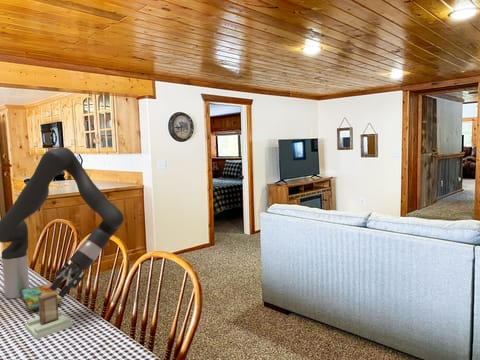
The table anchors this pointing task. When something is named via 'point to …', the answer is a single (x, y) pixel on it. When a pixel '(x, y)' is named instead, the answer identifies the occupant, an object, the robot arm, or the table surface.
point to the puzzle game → (33, 293)
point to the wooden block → (48, 308)
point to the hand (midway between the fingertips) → (56, 292)
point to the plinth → (47, 326)
